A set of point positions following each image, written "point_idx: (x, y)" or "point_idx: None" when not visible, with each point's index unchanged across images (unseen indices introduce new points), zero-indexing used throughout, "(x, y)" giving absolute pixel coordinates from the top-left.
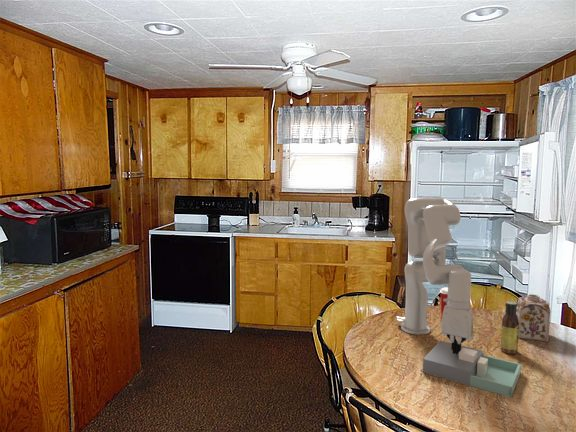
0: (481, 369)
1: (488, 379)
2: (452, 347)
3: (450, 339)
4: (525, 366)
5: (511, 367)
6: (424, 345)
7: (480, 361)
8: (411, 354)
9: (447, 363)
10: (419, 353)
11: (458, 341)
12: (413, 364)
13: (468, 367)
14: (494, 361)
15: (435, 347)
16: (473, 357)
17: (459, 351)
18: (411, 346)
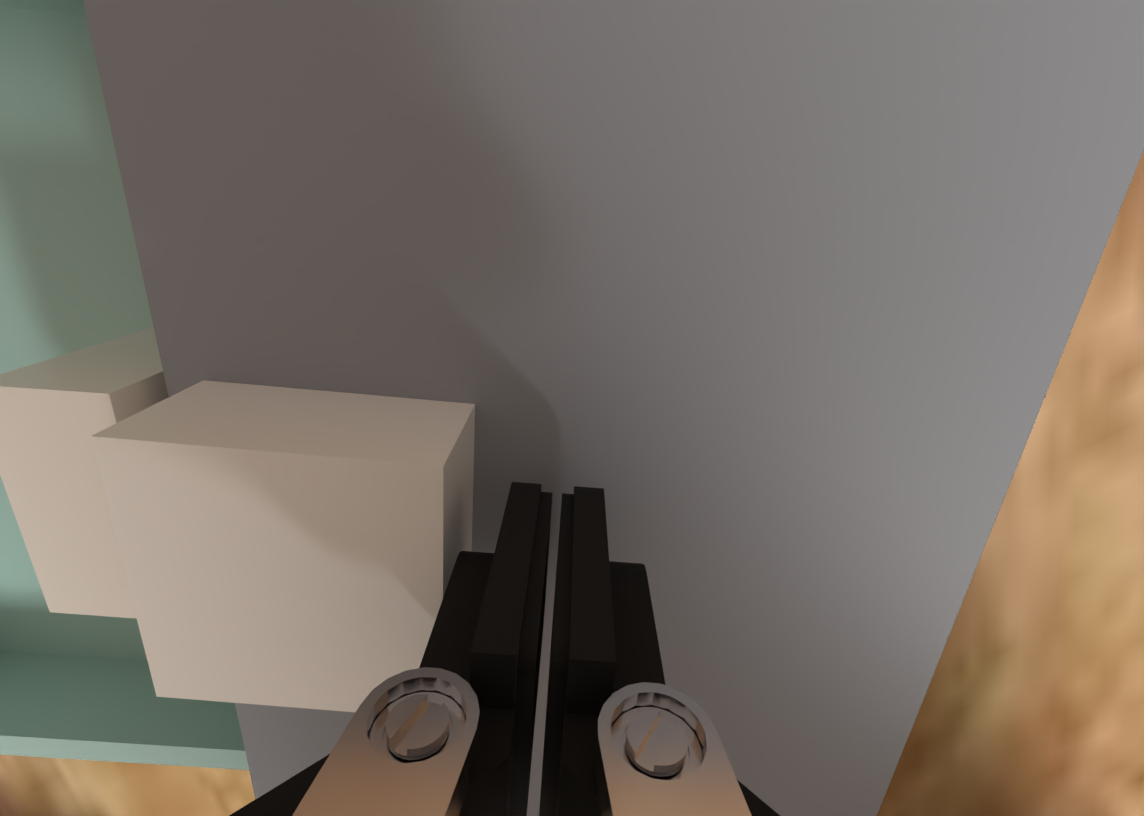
0: (129, 352)
1: (109, 299)
2: (625, 597)
3: (730, 780)
4: (23, 787)
5: (10, 678)
6: (959, 781)
7: (83, 446)
8: (1124, 523)
9: (628, 34)
10: (1018, 592)
11: (435, 763)
12: (1116, 243)
13: (184, 89)
14: (175, 709)
15: (919, 643)
16: (127, 421)
17: (468, 552)
18: (1110, 707)
